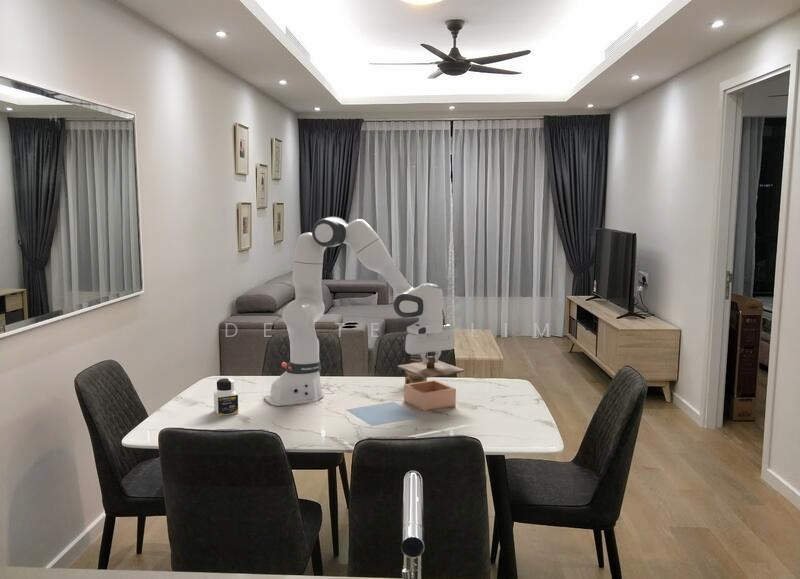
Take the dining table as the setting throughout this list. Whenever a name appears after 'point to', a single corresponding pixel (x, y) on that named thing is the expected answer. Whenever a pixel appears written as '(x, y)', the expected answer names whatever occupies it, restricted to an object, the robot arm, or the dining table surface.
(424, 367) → the walnut lid
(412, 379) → the coffee box
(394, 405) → the slate mat
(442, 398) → the terracotta open box
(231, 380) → the medicine bottle
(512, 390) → the dining table surface
